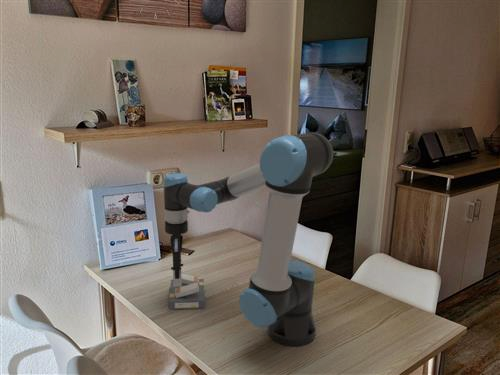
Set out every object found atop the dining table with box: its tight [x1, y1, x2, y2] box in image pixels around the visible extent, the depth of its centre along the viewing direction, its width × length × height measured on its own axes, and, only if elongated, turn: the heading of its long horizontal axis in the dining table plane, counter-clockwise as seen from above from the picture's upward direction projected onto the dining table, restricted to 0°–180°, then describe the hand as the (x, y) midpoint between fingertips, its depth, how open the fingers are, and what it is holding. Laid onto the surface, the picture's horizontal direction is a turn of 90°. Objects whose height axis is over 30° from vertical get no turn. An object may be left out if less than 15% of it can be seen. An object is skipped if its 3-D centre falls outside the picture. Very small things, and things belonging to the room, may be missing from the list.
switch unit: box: [168, 278, 206, 311], centre depth 157 cm, size 16×12×4 cm
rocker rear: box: [181, 272, 200, 284], centre depth 161 cm, size 4×8×2 cm, turn 97°
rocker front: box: [175, 282, 199, 298], centre depth 153 cm, size 4×8×2 cm, turn 97°
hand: (177, 285), depth 152 cm, fingers closed
